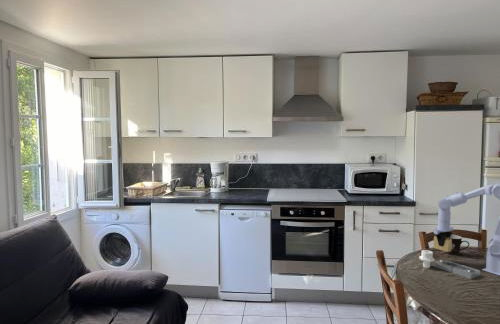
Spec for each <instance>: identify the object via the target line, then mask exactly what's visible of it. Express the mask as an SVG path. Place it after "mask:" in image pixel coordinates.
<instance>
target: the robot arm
mask: <svg viewBox="0 0 500 324" xmlns="http://www.w3.org/2000/svg"><path fill="white" fill-rule="evenodd" d="M483 195H485V196H486V195H487V196H492V195H493V197H495V198H497V199H498V200H499V201H500V182H496V183H494V184H493V183H491V184H488V185H483V186H481V187H479V188H475V189H473V190H472V191H471V190H470V191H468V192H466V193H464V192H455V193H454V194H452V195H446V196H445V197H442V198H441V199H439V201H438V203H437V206H438V212H437V214H438V216H437V226H435V229H434V230H433V234H434V236H436V237H437V240H438V244H439V246H442V247H443V245H444V240H445V237H449V238H450V237H451V235H453V232H454V227H453V226H451V215H452V213H451V207H453V208H454V207H458V206H460V205H463V204H466V203H467V201H468V200H471V199H473V198H477V197H479V196H483ZM485 260H486V263H485V264H486V265H485V267H484V268H482V270H481V271H483V272H487V273H490V274H494V275H497V276H500V216H499V218H498V220H497V224H496V228H495V230H494V234H493V236H492V238H491V239H490V240H489V242H488V246H487V250H486V258H485Z"/></svg>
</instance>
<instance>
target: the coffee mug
mask: <svg viewBox="0 0 500 324" xmlns="http://www.w3.org/2000/svg"><path fill="white" fill-rule="evenodd" d="M450 239H452V247H451V251H450V252H446V251H445V253H446V254H447V255H450V256H455V257H456V256H459V255H460V252H461V251H463V250H466V249H467V248H468V247H469V246H470V242H469V241H467V240H463V237H462V236H460V235H456V234H452V235H451V237H450ZM462 243H466V244H468V245H467V246H466V247H463V248H461V245H462Z"/></svg>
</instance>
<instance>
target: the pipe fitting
mask: <svg viewBox="0 0 500 324" xmlns="http://www.w3.org/2000/svg"><path fill="white" fill-rule="evenodd" d="M433 256H434V252H433V251H431V250H428V249H422V250H421V255H419V257H418V259H419V260H420V261H421V262H422V267H423V268H426V269H429V268H430V267H431V263H432V262H436V259H435V258H434V257H433Z"/></svg>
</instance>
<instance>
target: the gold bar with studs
mask: <svg viewBox="0 0 500 324" xmlns="http://www.w3.org/2000/svg"><path fill="white" fill-rule="evenodd" d="M451 247H452V239H450V238H449V237H445V240H444V245H443V247H442V246H439V244H438V240H437V237H436V235H434V236H433V248H434V249H436V250H440V251H443V252H445V253H446V252H450V251H451Z"/></svg>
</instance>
